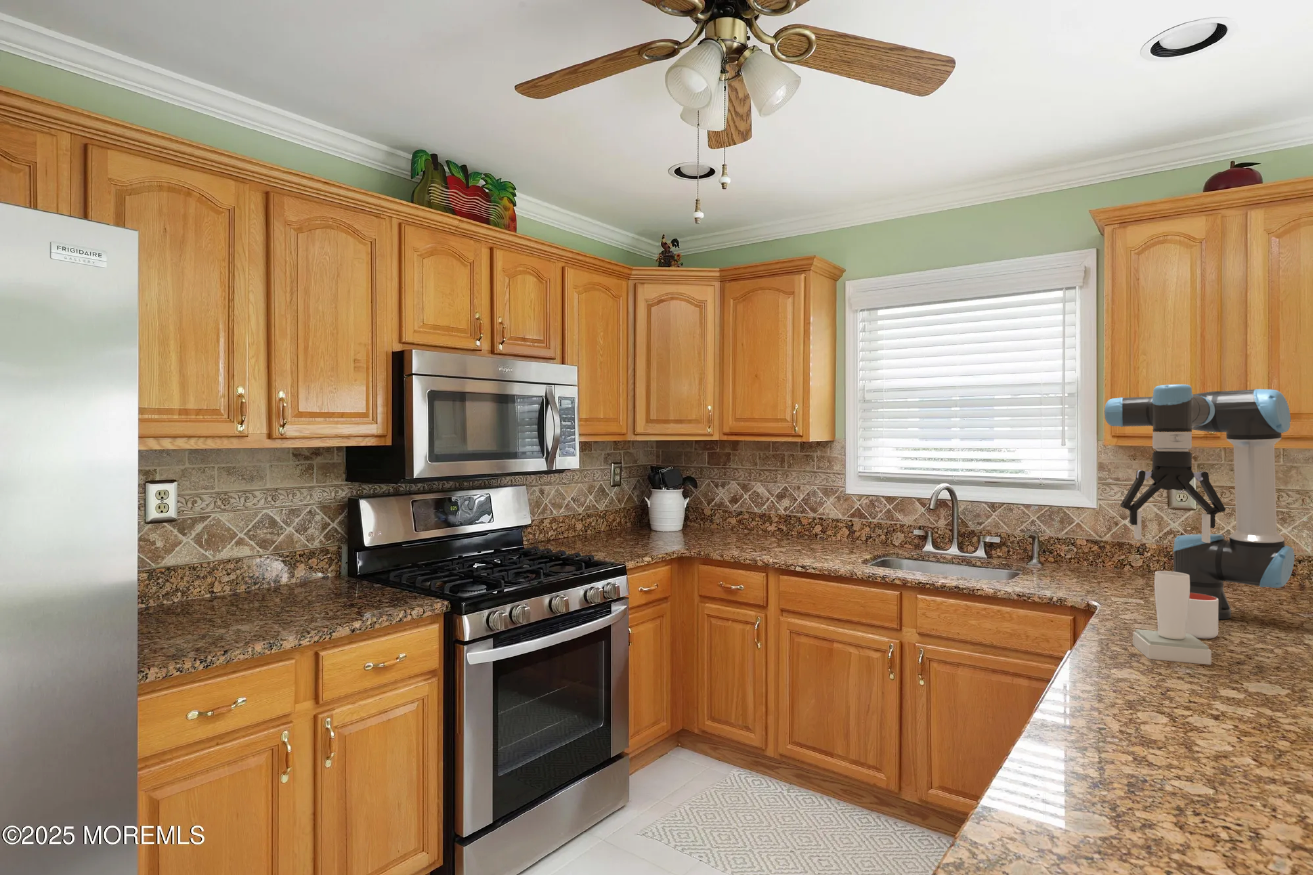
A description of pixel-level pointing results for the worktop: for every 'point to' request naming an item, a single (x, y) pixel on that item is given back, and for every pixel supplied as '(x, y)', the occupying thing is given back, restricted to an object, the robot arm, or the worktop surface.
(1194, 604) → the cup
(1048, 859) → the worktop surface
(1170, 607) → the drinking glass
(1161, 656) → the coaster
